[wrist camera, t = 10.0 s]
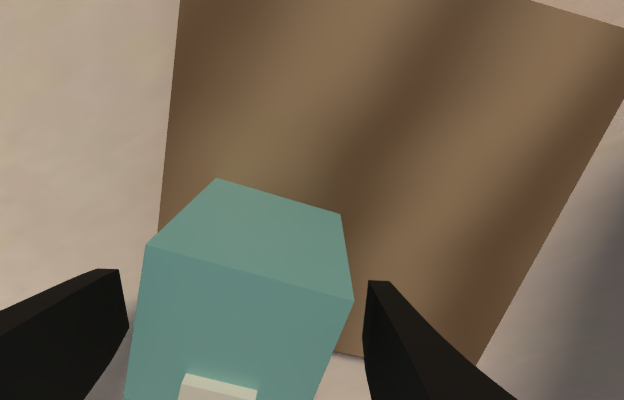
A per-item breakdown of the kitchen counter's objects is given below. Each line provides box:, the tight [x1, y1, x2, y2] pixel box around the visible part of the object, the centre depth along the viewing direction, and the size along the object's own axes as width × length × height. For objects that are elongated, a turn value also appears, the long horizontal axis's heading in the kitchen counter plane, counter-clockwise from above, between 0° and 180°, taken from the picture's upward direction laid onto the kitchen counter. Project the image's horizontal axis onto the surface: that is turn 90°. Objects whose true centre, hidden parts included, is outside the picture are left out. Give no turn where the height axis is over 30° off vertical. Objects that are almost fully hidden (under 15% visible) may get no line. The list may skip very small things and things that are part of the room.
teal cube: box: [123, 178, 354, 400], centre depth 10 cm, size 5×5×5 cm
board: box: [158, 0, 624, 366], centre depth 11 cm, size 14×14×4 cm
